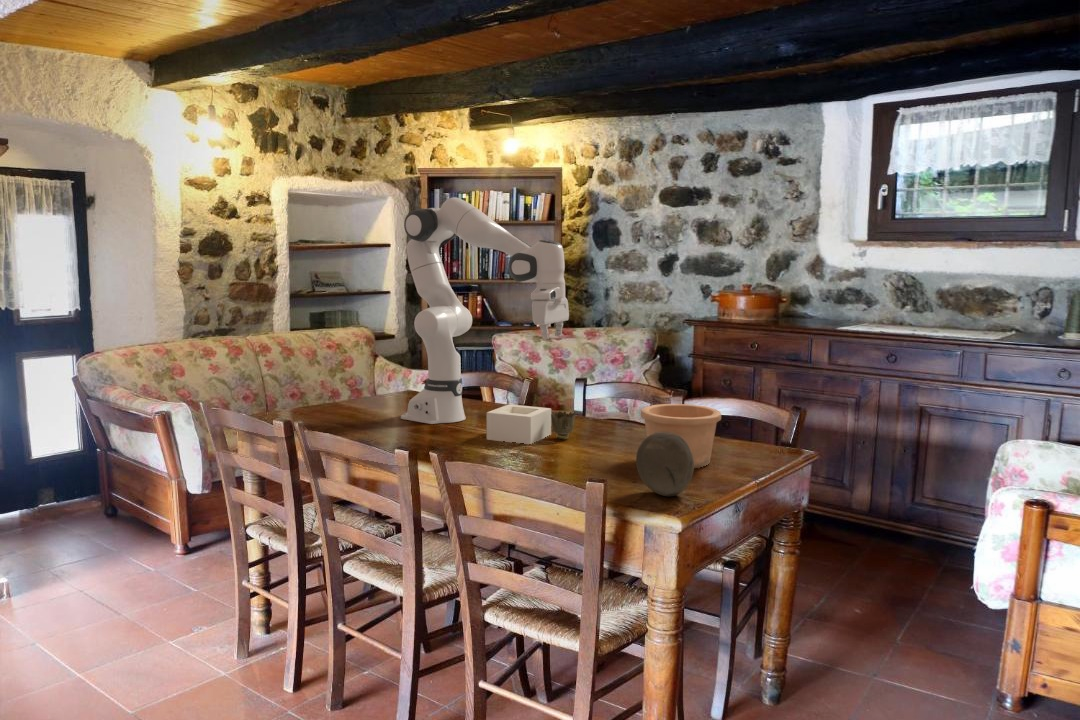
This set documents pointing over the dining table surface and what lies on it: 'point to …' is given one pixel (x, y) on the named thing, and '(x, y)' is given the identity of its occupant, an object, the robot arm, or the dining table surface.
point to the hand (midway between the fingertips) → (552, 337)
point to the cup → (562, 424)
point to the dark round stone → (665, 463)
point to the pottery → (685, 426)
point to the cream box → (518, 424)
